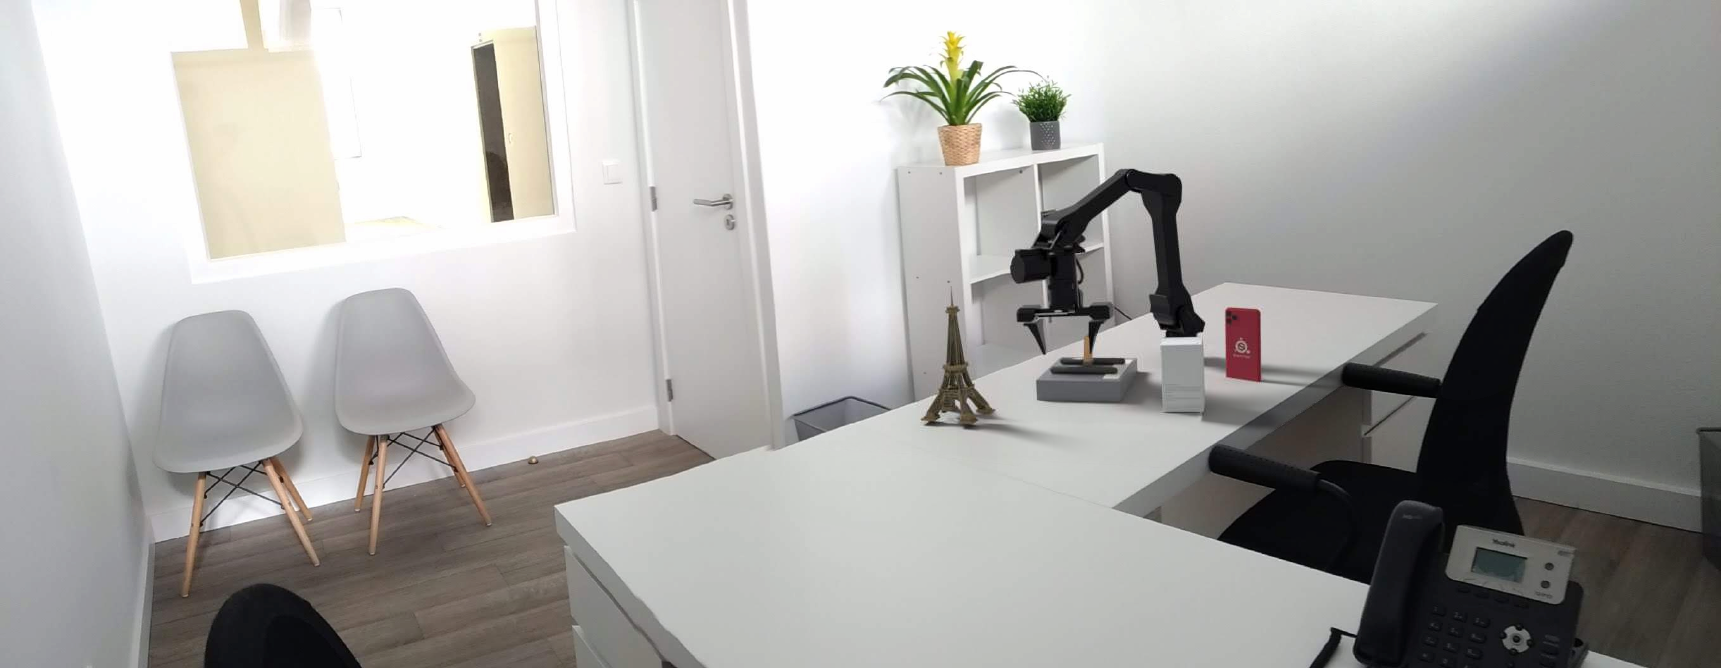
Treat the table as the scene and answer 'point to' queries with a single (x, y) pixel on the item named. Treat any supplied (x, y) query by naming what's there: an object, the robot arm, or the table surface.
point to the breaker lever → (1087, 353)
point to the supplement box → (1183, 374)
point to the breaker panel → (1087, 380)
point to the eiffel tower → (956, 379)
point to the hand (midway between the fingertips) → (1067, 354)
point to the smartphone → (1243, 343)
